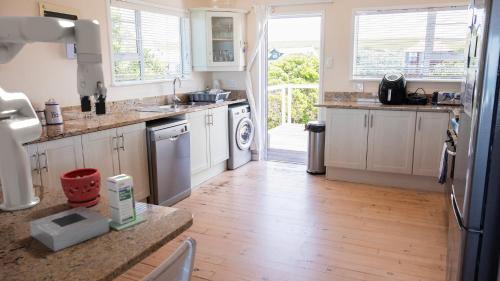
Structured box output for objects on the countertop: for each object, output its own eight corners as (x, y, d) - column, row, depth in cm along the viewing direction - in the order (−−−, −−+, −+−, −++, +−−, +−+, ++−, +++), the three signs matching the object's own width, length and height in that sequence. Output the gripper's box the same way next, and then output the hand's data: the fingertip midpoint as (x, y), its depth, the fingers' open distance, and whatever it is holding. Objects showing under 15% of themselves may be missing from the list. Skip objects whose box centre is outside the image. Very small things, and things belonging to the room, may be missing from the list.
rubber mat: (101, 222, 122) (101, 221, 122) (129, 213, 130) (129, 212, 130) (118, 231, 116) (118, 229, 116) (146, 220, 123) (146, 219, 123)
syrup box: (120, 225, 119) (116, 180, 116) (110, 220, 123) (106, 177, 120) (136, 219, 123) (133, 176, 120) (126, 215, 127) (122, 173, 124)
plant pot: (78, 197, 148) (75, 167, 145) (109, 198, 145) (106, 167, 143) (55, 209, 135) (51, 176, 133) (89, 211, 133) (85, 178, 130)
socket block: (31, 235, 114) (29, 221, 113) (83, 218, 126) (82, 206, 125) (55, 251, 104) (53, 236, 103) (109, 231, 116) (107, 217, 115)
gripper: (65, 59, 125) (70, 111, 128) (91, 59, 114) (95, 117, 117) (88, 59, 130) (91, 109, 134) (114, 60, 119) (117, 114, 123)
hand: (93, 113), depth 125 cm, fingers open, 9 cm apart
